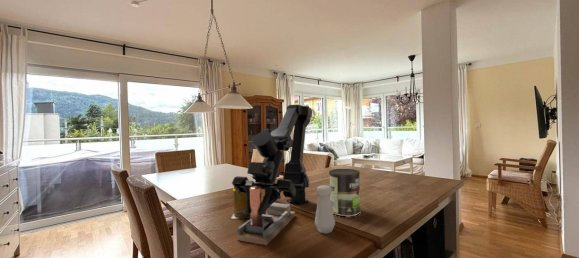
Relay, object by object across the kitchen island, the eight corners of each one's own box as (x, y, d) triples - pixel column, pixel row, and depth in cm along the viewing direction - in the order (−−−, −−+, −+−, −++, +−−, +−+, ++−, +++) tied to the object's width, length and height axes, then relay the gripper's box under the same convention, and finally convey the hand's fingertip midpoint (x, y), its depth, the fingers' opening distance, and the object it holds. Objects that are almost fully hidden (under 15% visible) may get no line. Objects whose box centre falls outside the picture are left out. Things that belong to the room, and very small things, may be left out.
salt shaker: (313, 226, 76) (312, 184, 76) (332, 225, 77) (331, 183, 76) (317, 235, 70) (316, 189, 70) (337, 234, 71) (336, 188, 70)
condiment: (235, 211, 92) (234, 178, 91) (258, 210, 92) (257, 177, 91) (230, 219, 84) (229, 183, 84) (255, 218, 84) (254, 182, 84)
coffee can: (365, 210, 88) (365, 170, 87) (351, 220, 80) (350, 176, 80) (340, 204, 95) (339, 167, 94) (324, 212, 87) (323, 172, 87)
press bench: (271, 212, 89) (270, 200, 88) (295, 215, 85) (294, 203, 85) (237, 239, 69) (236, 224, 69) (266, 245, 66) (265, 228, 66)
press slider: (255, 223, 76) (254, 182, 75) (273, 225, 74) (272, 184, 73) (244, 231, 70) (242, 188, 70) (263, 235, 68) (262, 190, 67)
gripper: (234, 150, 77) (211, 196, 67) (290, 151, 70) (274, 203, 60) (248, 170, 84) (230, 215, 75) (301, 173, 77) (288, 223, 68)
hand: (253, 214), depth 69 cm, fingers closed on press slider, 3 cm apart
